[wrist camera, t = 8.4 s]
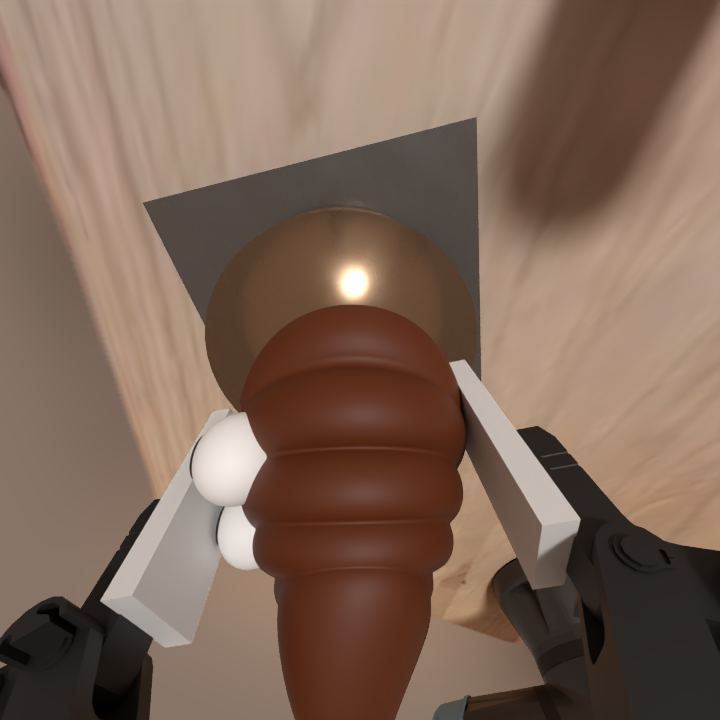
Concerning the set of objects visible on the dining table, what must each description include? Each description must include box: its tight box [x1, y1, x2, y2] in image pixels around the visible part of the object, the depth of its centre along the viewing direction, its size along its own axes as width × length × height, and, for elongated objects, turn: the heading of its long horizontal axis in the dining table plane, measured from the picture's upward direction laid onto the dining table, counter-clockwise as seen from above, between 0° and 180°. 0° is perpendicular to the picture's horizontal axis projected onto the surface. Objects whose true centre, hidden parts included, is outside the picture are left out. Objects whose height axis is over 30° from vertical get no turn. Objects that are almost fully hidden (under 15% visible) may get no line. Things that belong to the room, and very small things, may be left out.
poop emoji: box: [189, 304, 466, 720], centre depth 9 cm, size 10×8×9 cm
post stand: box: [143, 117, 481, 413], centre depth 20 cm, size 20×20×7 cm
